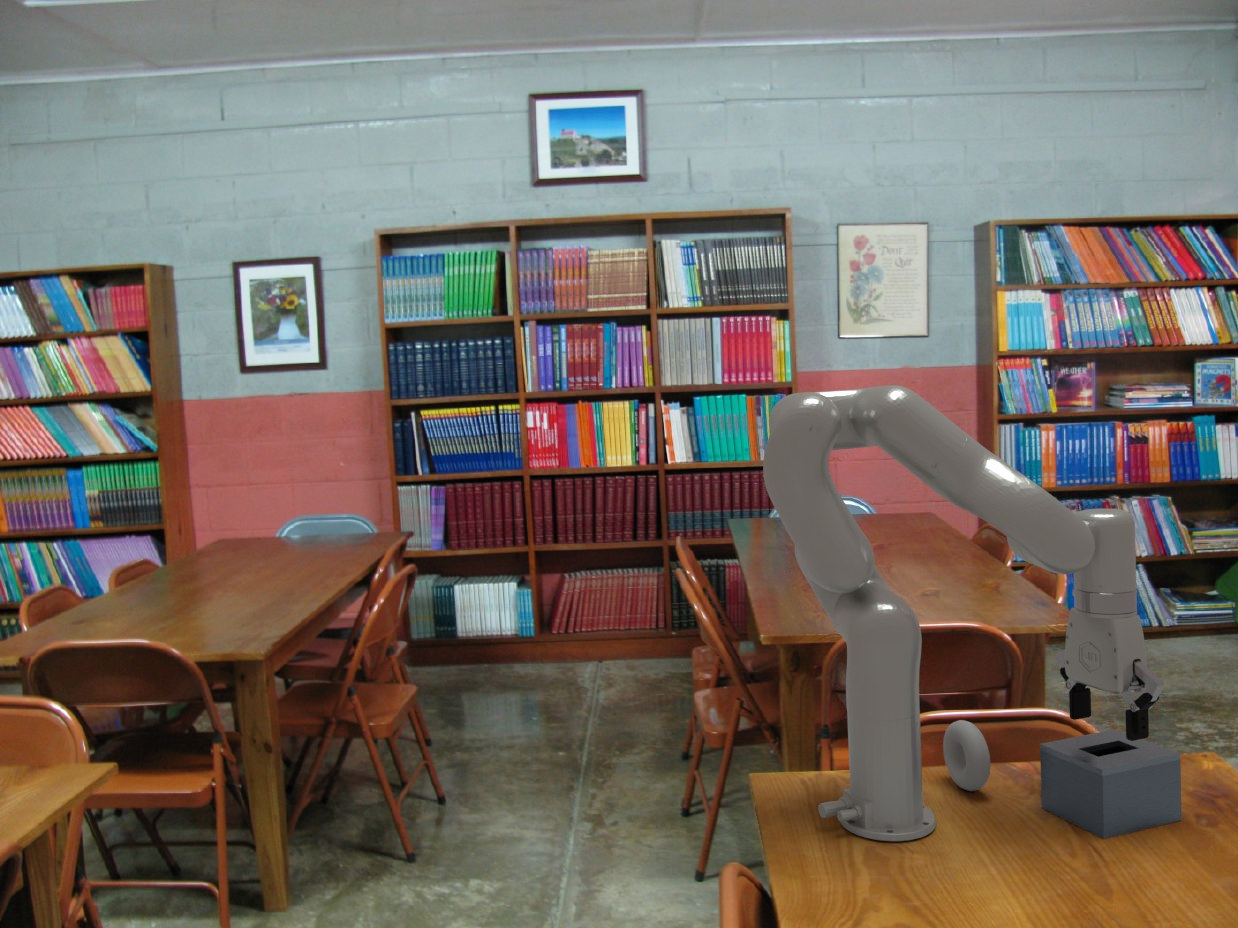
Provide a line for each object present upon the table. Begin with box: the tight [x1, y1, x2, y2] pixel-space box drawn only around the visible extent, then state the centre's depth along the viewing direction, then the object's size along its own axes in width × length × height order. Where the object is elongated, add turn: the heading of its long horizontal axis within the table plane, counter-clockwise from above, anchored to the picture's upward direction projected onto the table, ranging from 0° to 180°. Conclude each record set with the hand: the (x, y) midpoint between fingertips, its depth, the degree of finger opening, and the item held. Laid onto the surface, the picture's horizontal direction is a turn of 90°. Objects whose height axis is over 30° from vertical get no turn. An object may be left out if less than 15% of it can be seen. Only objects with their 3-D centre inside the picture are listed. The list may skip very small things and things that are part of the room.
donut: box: [942, 719, 992, 792], centre depth 147 cm, size 10×4×10 cm, turn 10°
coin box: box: [1039, 729, 1183, 840], centre depth 136 cm, size 13×11×9 cm
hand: (1108, 728), depth 136 cm, fingers open, 9 cm apart
